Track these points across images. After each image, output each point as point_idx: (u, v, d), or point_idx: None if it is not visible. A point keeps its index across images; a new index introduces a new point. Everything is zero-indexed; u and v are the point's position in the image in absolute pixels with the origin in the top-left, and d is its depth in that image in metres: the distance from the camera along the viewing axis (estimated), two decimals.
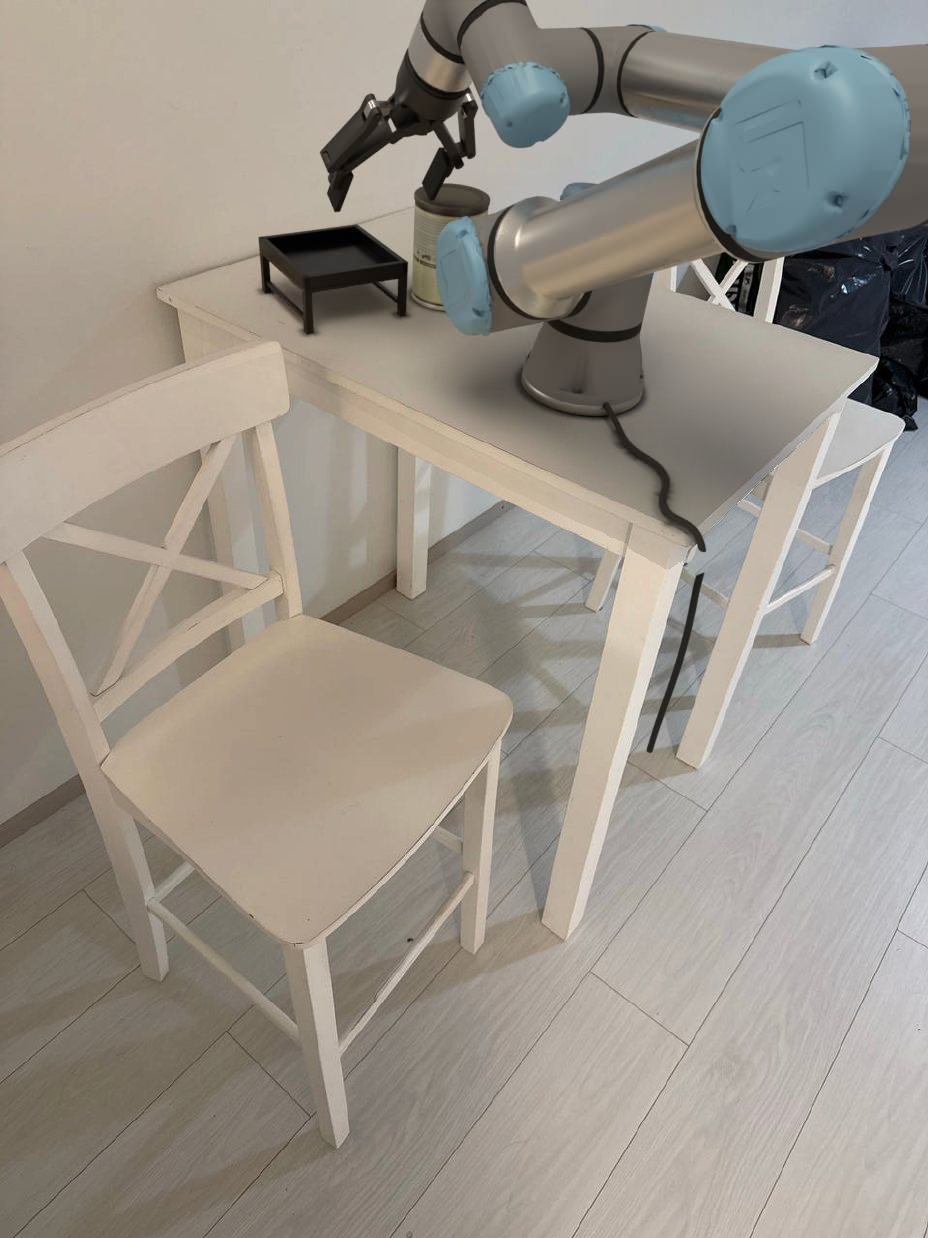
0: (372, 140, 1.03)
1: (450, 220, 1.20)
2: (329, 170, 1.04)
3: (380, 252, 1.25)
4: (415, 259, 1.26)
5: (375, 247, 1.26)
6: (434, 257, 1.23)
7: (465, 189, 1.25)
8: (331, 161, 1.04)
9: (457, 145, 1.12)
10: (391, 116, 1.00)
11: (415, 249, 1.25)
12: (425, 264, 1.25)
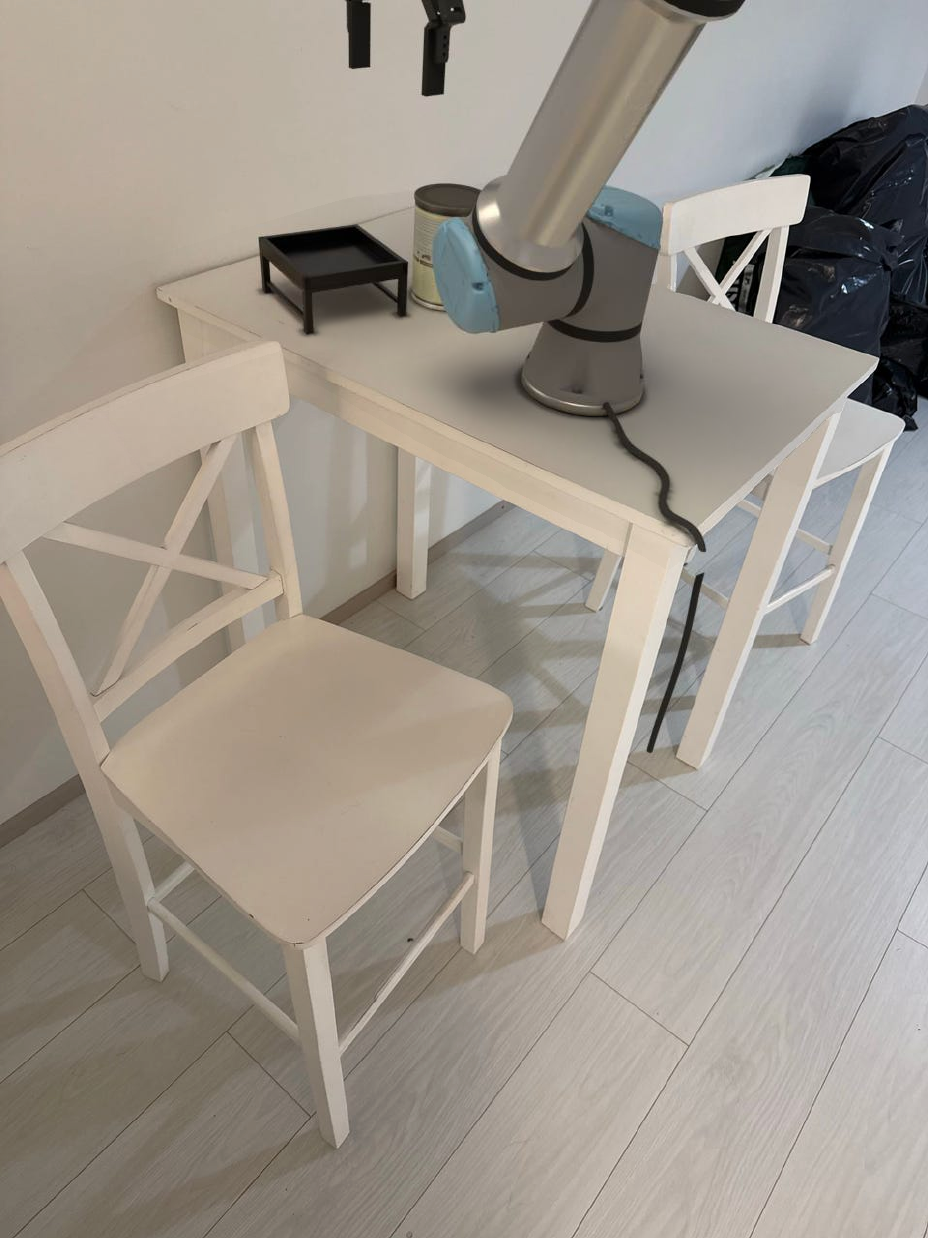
0: None
1: None
2: None
3: (380, 252, 1.25)
4: (415, 259, 1.26)
5: (375, 247, 1.26)
6: None
7: (465, 189, 1.25)
8: None
9: None
10: None
11: (415, 249, 1.25)
12: (425, 264, 1.25)
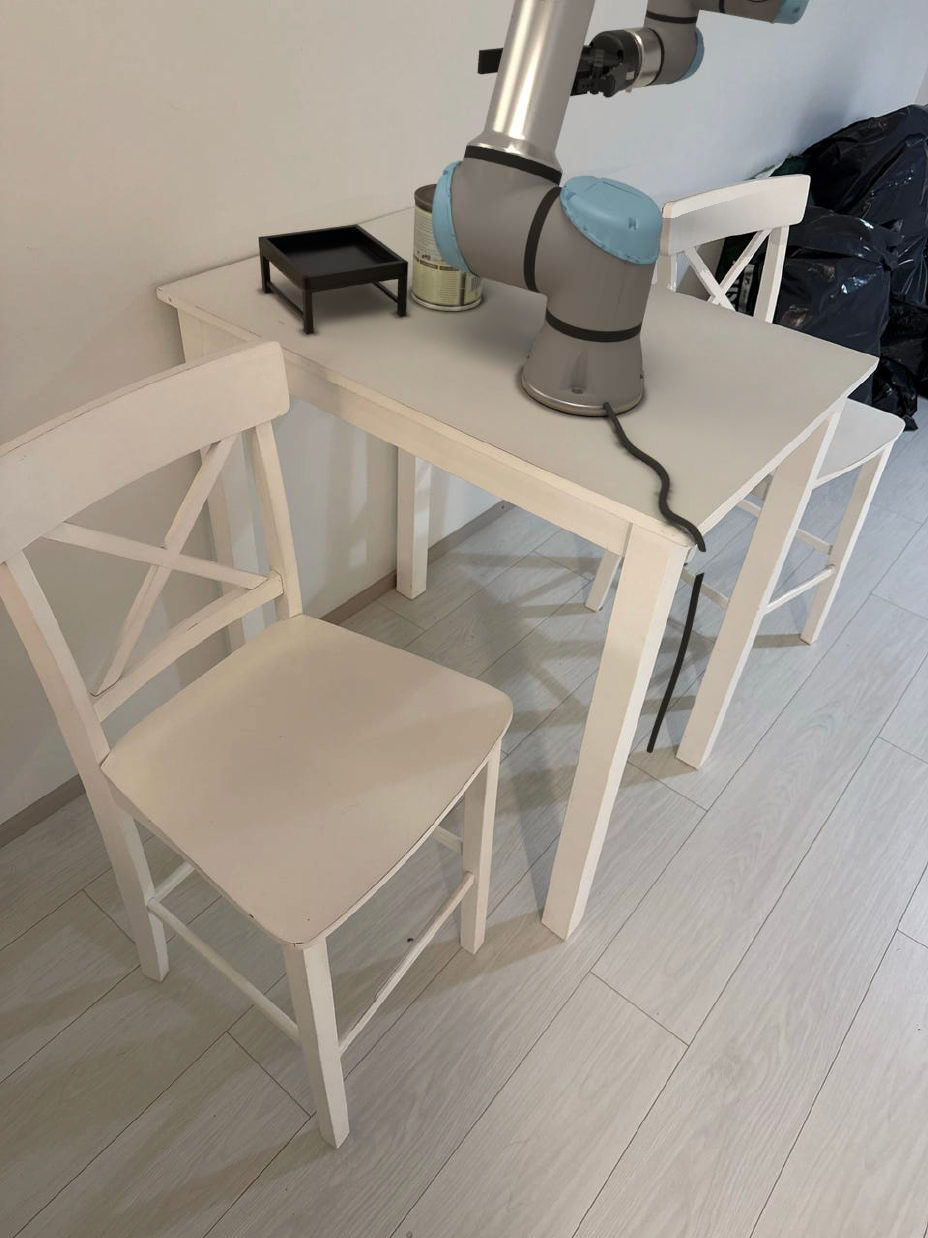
0: None
1: None
2: None
3: (380, 252, 1.25)
4: (415, 259, 1.26)
5: (375, 247, 1.26)
6: (434, 257, 1.23)
7: None
8: None
9: None
10: None
11: (415, 249, 1.25)
12: (425, 264, 1.25)
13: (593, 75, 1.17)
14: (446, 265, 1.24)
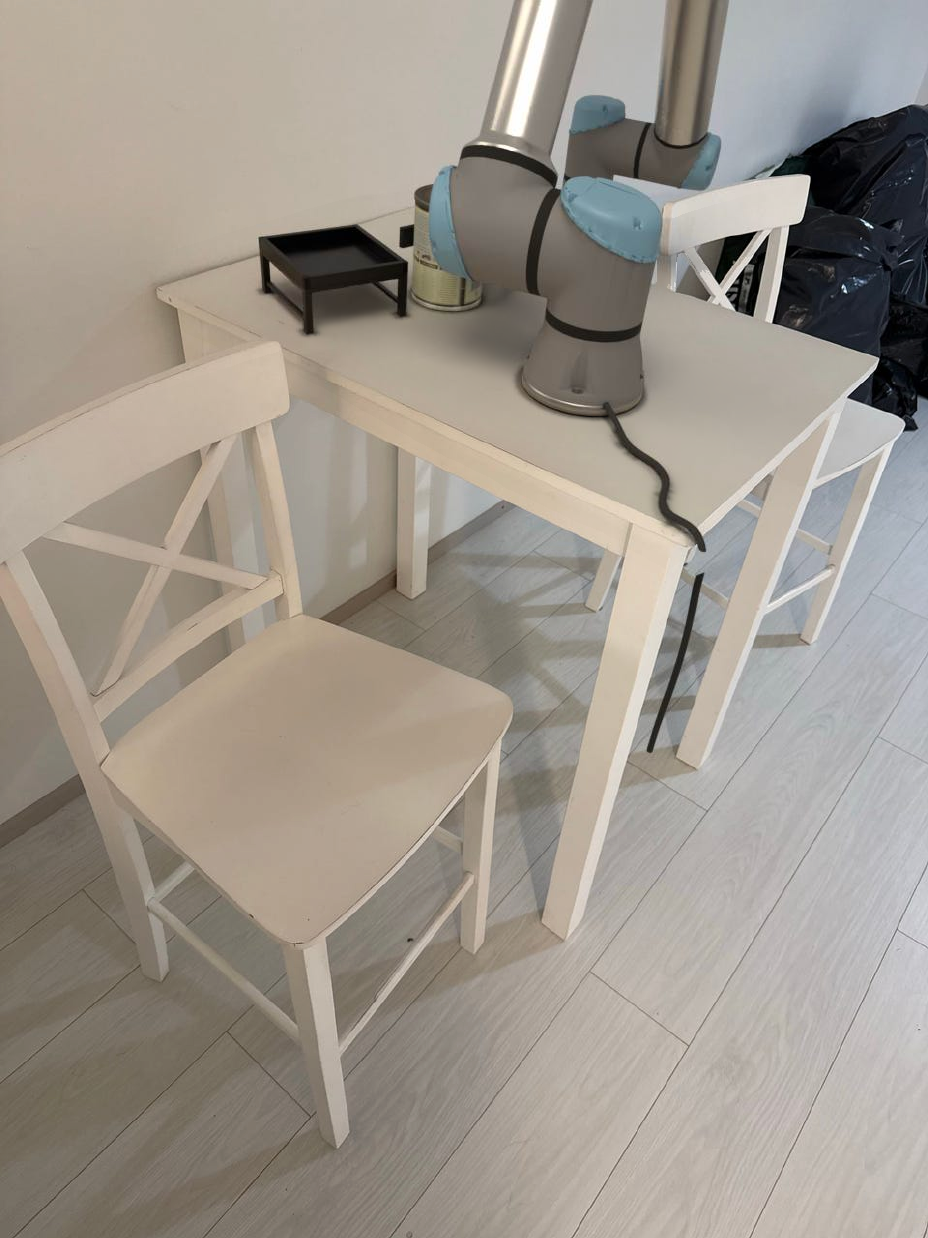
0: None
1: None
2: None
3: (380, 252, 1.25)
4: (415, 259, 1.26)
5: (375, 247, 1.26)
6: None
7: None
8: None
9: None
10: None
11: (415, 249, 1.25)
12: (425, 264, 1.25)
13: None
14: None
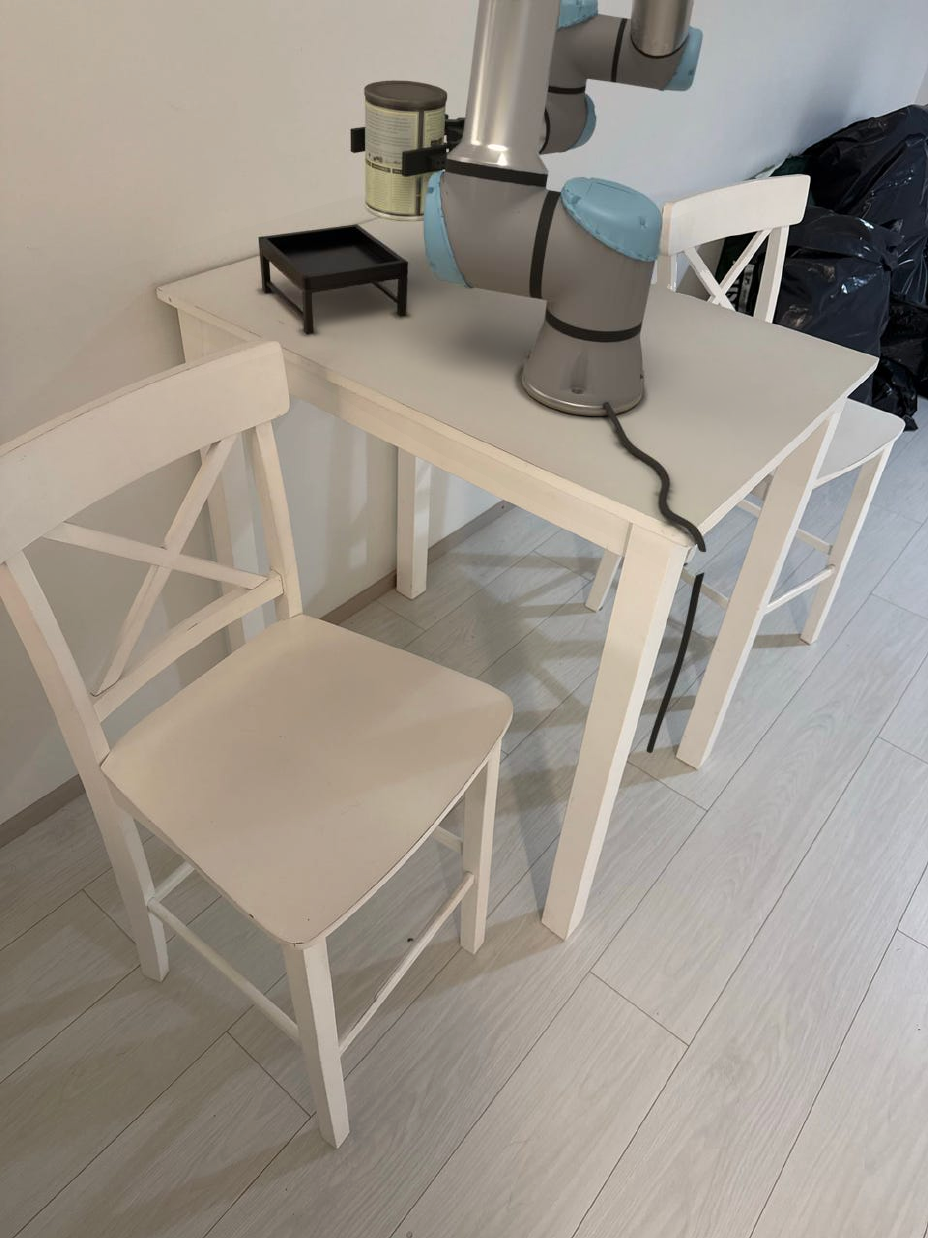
0: None
1: (402, 115, 1.10)
2: None
3: (380, 252, 1.25)
4: (367, 163, 1.16)
5: (375, 247, 1.26)
6: (386, 159, 1.13)
7: (421, 86, 1.15)
8: None
9: None
10: None
11: (366, 152, 1.15)
12: (377, 167, 1.15)
13: (449, 151, 1.14)
14: (399, 168, 1.14)
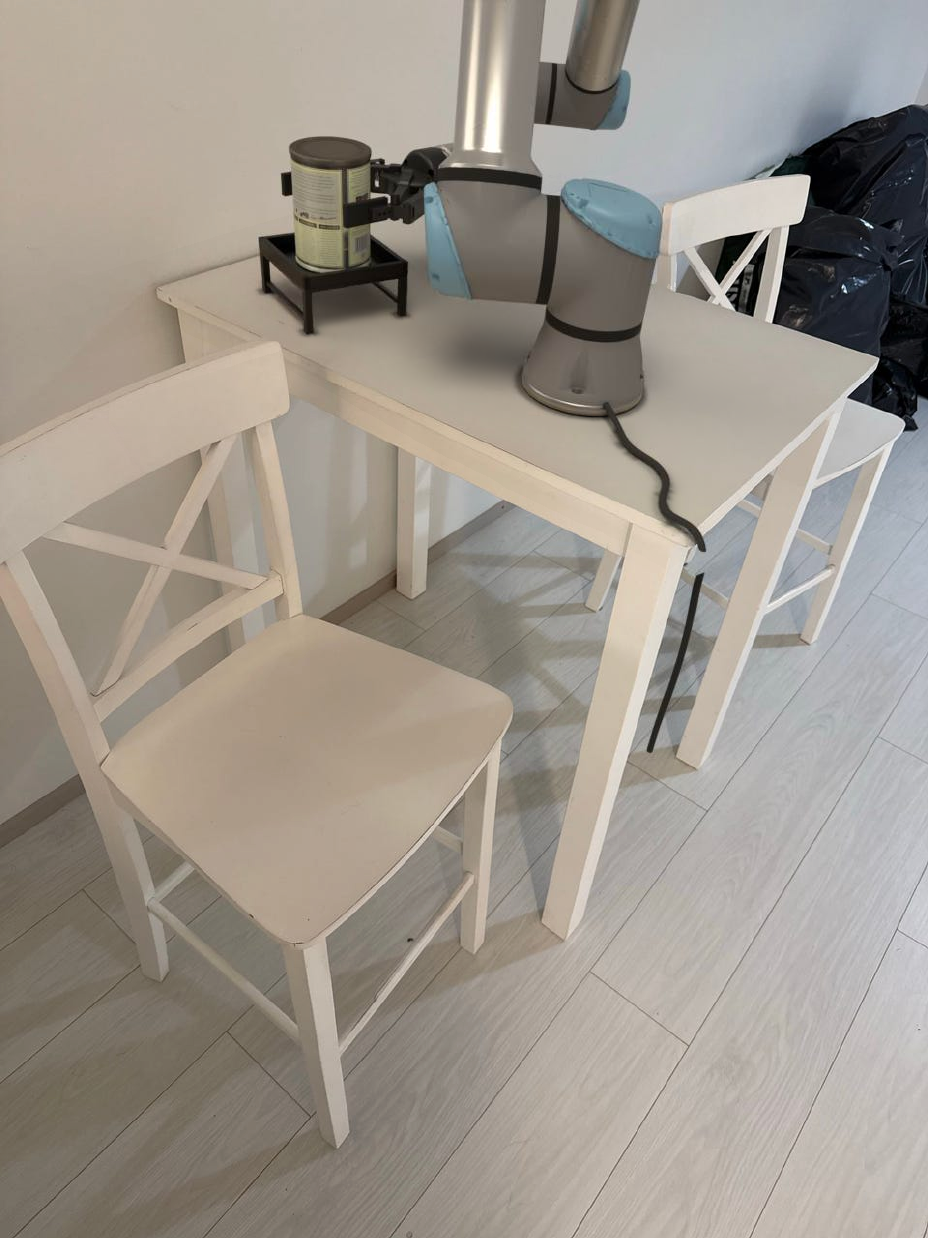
0: None
1: (325, 173, 1.11)
2: None
3: (380, 252, 1.25)
4: (295, 218, 1.18)
5: (375, 247, 1.26)
6: (312, 214, 1.15)
7: (347, 142, 1.16)
8: None
9: None
10: None
11: (294, 207, 1.17)
12: (303, 223, 1.16)
13: (391, 202, 1.15)
14: (325, 223, 1.15)
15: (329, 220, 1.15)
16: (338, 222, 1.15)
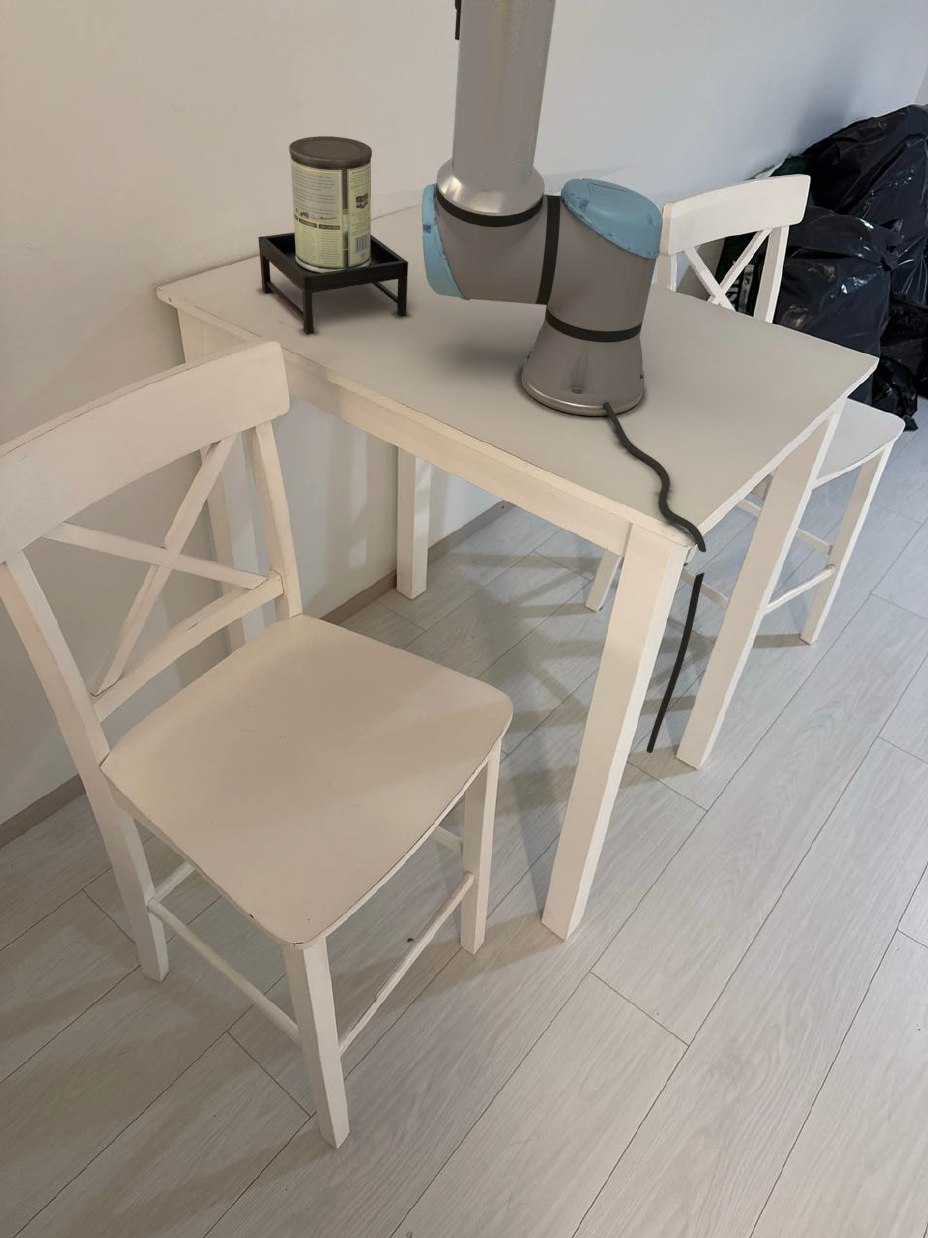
0: None
1: (325, 173, 1.11)
2: None
3: (380, 252, 1.25)
4: (295, 218, 1.18)
5: (375, 247, 1.26)
6: (312, 214, 1.15)
7: (347, 142, 1.16)
8: None
9: None
10: None
11: (294, 207, 1.17)
12: (304, 223, 1.16)
13: None
14: (325, 223, 1.15)
15: (329, 220, 1.15)
16: (339, 222, 1.15)
